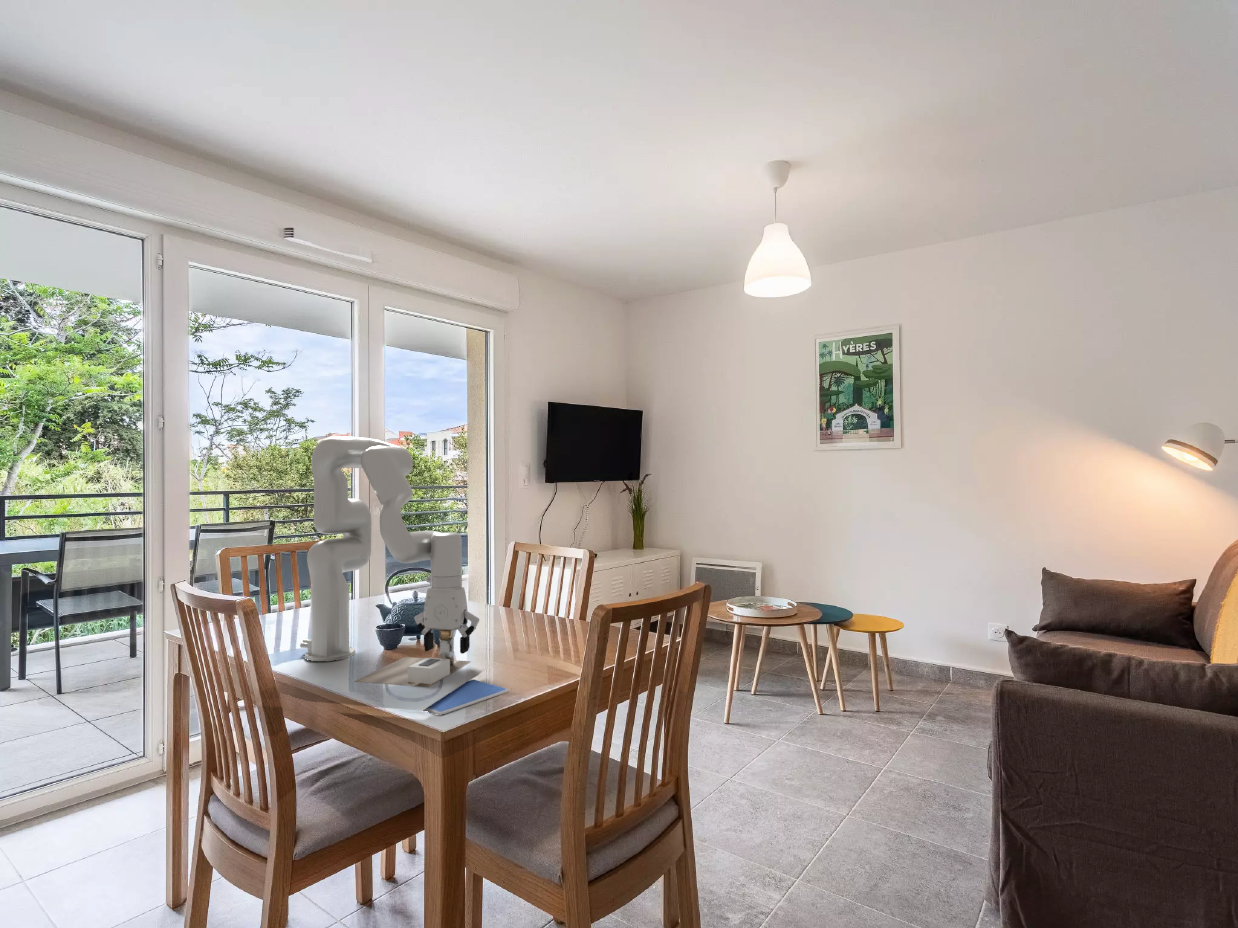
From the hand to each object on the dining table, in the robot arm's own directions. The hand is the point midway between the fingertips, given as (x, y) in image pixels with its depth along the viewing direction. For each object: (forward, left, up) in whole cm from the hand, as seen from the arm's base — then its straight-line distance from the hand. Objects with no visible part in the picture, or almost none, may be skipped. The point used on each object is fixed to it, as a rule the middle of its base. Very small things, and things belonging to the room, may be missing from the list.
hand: (446, 650), depth 165 cm
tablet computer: (+12, -17, -6) cm, 22 cm away
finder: (+1, -10, -4) cm, 11 cm away
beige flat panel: (-5, -6, -5) cm, 9 cm away
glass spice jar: (0, 0, -4) cm, 4 cm away
